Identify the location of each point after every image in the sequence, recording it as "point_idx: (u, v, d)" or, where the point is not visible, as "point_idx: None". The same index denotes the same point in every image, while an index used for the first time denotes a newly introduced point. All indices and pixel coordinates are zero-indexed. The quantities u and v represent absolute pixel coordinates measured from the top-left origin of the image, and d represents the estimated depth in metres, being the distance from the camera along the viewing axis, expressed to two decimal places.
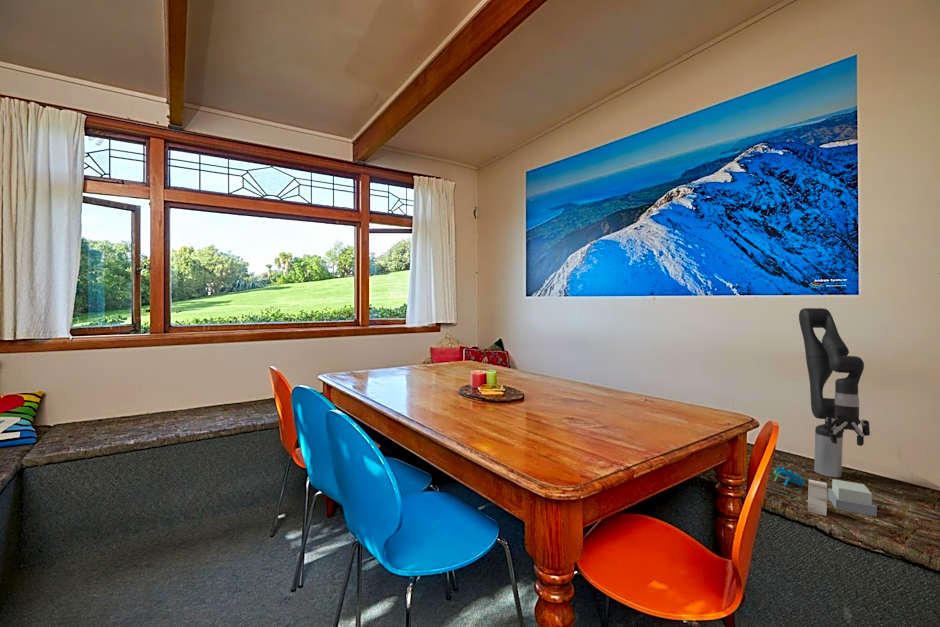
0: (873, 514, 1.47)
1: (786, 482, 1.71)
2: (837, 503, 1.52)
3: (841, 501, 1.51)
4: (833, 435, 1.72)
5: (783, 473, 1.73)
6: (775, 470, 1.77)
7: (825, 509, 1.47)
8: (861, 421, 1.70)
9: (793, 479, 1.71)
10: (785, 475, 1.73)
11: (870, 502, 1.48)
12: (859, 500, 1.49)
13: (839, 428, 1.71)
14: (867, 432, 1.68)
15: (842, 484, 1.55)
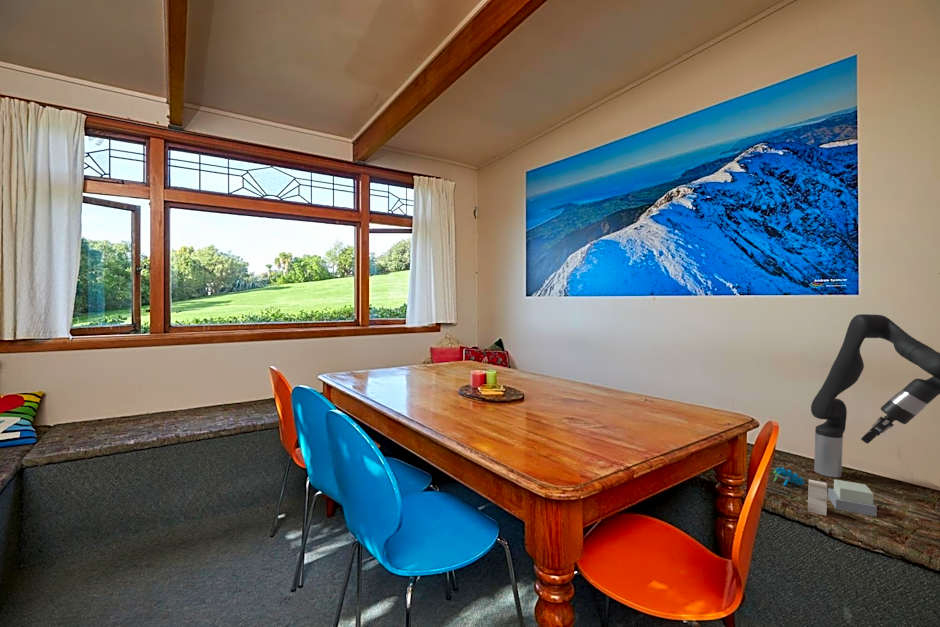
0: (873, 514, 1.47)
1: (786, 482, 1.71)
2: (837, 503, 1.52)
3: (841, 501, 1.51)
4: (873, 436, 1.42)
5: (783, 473, 1.73)
6: (775, 470, 1.77)
7: (825, 509, 1.47)
8: None
9: (793, 479, 1.71)
10: (785, 475, 1.73)
11: (872, 502, 1.48)
12: (861, 500, 1.49)
13: None
14: None
15: (843, 484, 1.55)
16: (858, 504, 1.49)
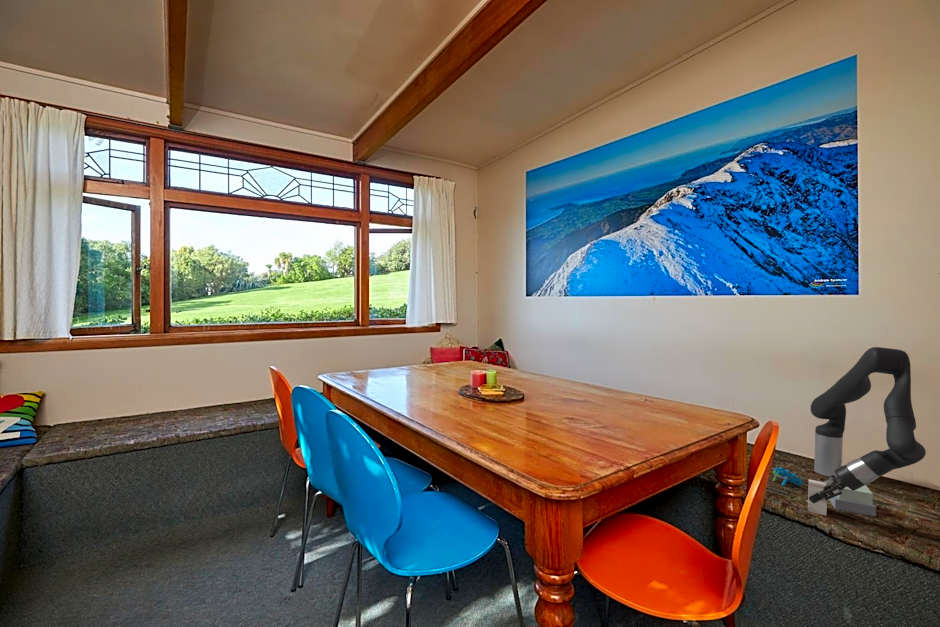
0: (872, 514, 1.47)
1: (784, 482, 1.71)
2: (836, 503, 1.52)
3: (840, 501, 1.51)
4: (821, 498, 1.47)
5: (781, 473, 1.73)
6: (774, 470, 1.77)
7: (825, 509, 1.47)
8: None
9: (791, 479, 1.71)
10: (784, 475, 1.73)
11: (871, 502, 1.48)
12: (860, 500, 1.49)
13: None
14: None
15: None
16: (857, 504, 1.49)
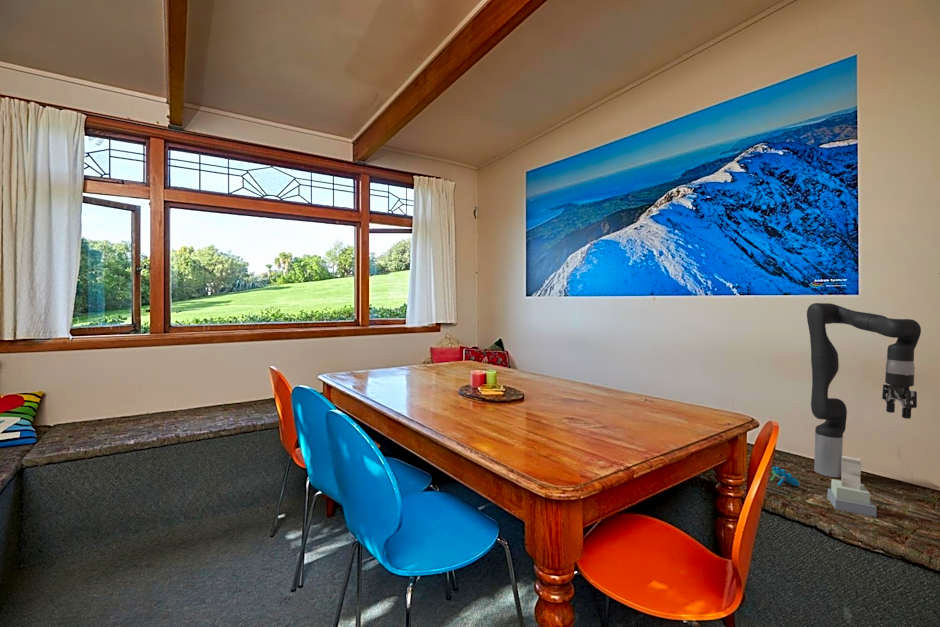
0: (873, 514, 1.47)
1: (780, 481, 1.71)
2: (837, 503, 1.51)
3: (841, 501, 1.51)
4: None
5: (779, 473, 1.73)
6: None
7: (859, 484, 1.51)
8: None
9: (789, 479, 1.71)
10: (781, 475, 1.73)
11: (868, 502, 1.48)
12: (857, 500, 1.50)
13: None
14: None
15: (840, 484, 1.56)
16: (858, 504, 1.49)
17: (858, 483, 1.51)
